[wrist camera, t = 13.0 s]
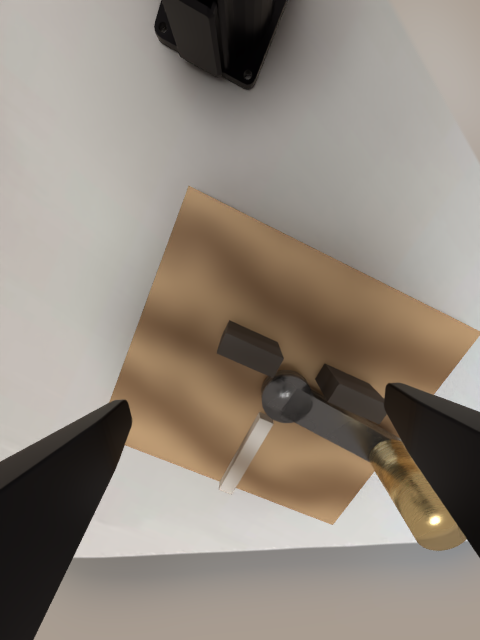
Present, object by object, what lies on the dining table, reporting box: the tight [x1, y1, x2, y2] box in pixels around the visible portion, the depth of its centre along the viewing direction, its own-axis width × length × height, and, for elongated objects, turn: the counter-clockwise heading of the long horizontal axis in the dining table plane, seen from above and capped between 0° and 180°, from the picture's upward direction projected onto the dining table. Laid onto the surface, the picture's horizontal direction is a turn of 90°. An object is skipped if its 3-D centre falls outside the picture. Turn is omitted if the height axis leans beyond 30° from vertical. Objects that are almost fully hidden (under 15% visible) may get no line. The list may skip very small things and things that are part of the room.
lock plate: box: [109, 186, 480, 525], centre depth 18 cm, size 21×23×4 cm
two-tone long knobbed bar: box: [261, 370, 467, 551], centre depth 16 cm, size 12×4×6 cm, turn 60°
